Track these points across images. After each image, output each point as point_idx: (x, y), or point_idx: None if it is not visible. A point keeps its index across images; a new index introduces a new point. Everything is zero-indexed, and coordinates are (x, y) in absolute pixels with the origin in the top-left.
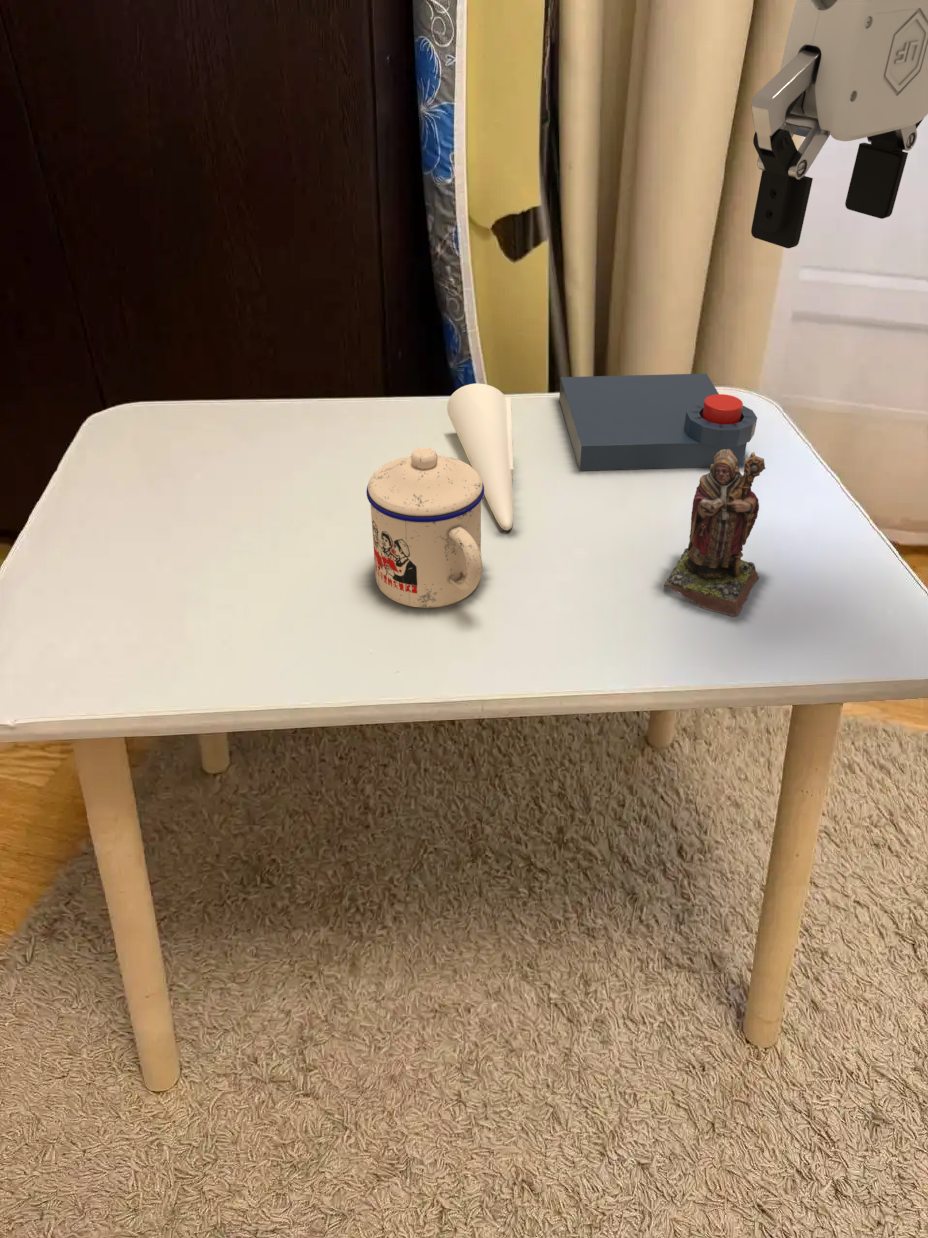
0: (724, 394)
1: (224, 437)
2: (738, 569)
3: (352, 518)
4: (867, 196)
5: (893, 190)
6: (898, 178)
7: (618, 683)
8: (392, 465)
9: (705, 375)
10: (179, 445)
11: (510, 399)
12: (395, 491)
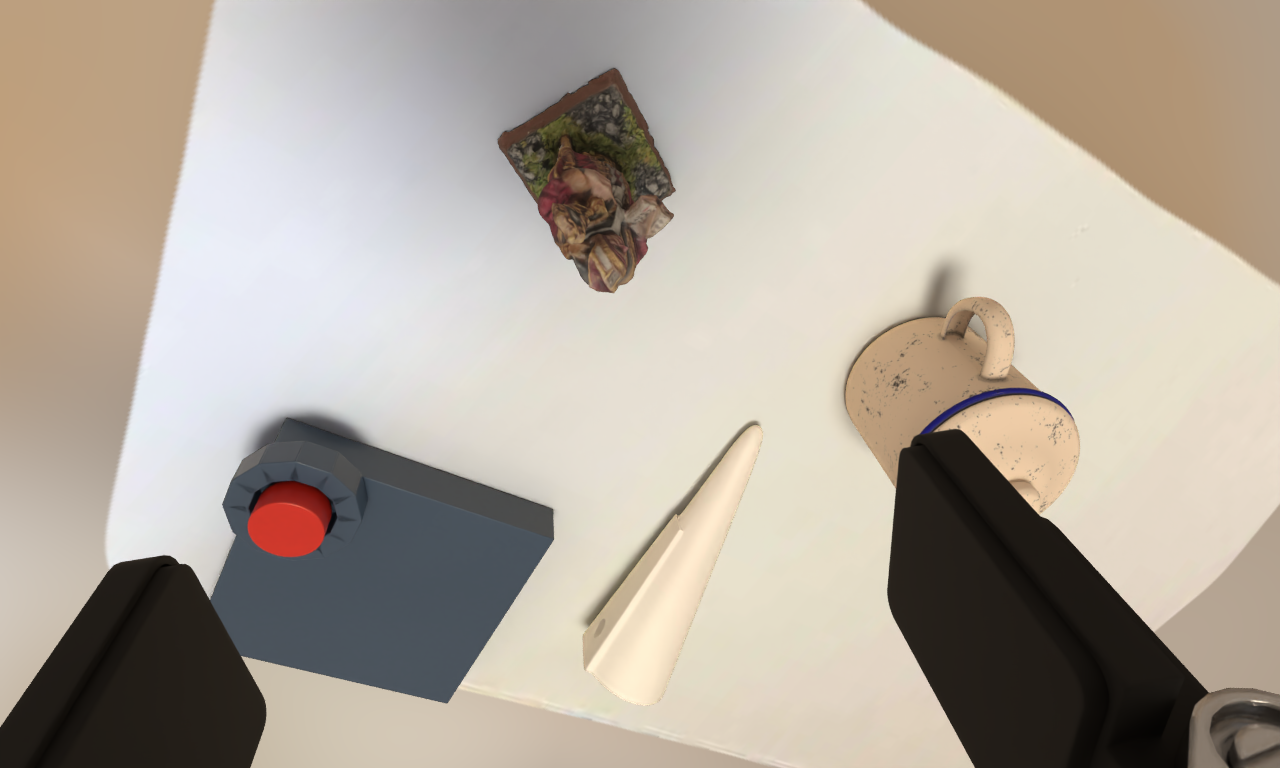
0: (266, 550)
1: (888, 720)
2: (565, 140)
3: (891, 530)
4: (199, 704)
5: (91, 665)
6: (34, 728)
7: (891, 36)
8: None
9: None
10: (938, 720)
11: (589, 665)
12: (1062, 463)
